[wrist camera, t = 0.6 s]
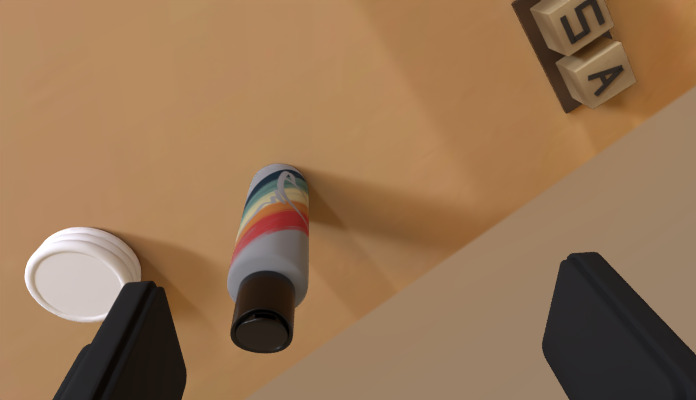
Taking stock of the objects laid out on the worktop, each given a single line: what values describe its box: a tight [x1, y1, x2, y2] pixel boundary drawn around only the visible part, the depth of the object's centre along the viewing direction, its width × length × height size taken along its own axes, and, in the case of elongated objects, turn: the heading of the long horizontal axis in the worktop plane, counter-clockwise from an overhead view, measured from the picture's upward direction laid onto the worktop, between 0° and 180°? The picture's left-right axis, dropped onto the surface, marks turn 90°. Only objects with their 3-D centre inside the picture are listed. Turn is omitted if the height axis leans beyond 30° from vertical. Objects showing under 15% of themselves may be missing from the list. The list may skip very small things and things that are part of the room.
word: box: [511, 0, 637, 113], centre depth 39 cm, size 12×6×4 cm, turn 36°
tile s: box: [530, 0, 614, 57], centre depth 38 cm, size 4×4×4 cm
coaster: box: [25, 227, 141, 323], centre depth 47 cm, size 10×10×4 cm
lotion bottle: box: [227, 164, 309, 353], centre depth 37 cm, size 6×6×20 cm
